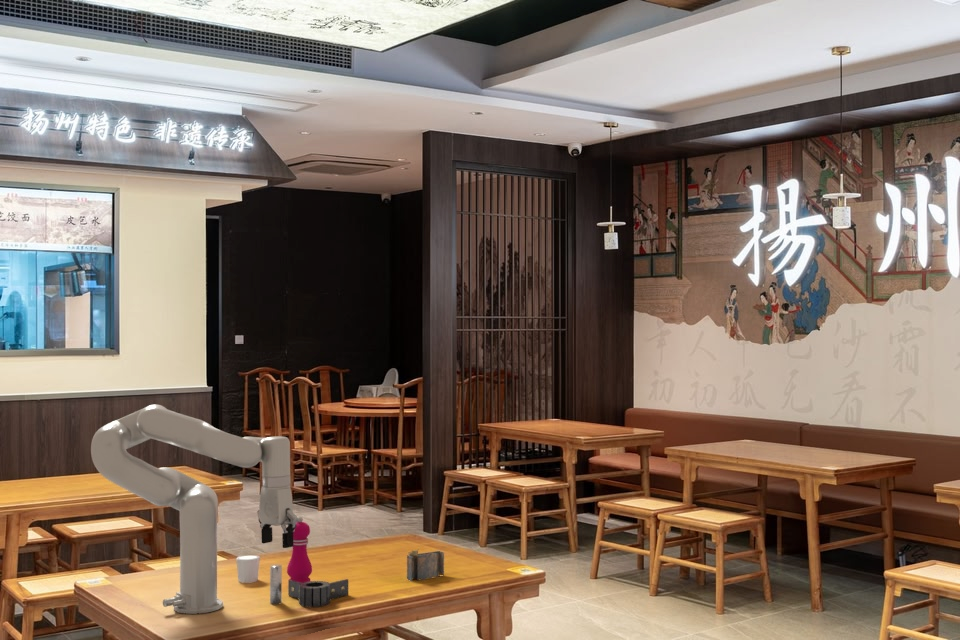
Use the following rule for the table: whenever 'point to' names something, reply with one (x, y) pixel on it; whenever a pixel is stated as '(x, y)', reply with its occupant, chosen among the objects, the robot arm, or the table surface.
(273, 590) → the hinge pin
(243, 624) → the table surface
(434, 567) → the rusty metal bracket
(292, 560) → the pepper mill
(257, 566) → the white cup
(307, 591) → the hinge
